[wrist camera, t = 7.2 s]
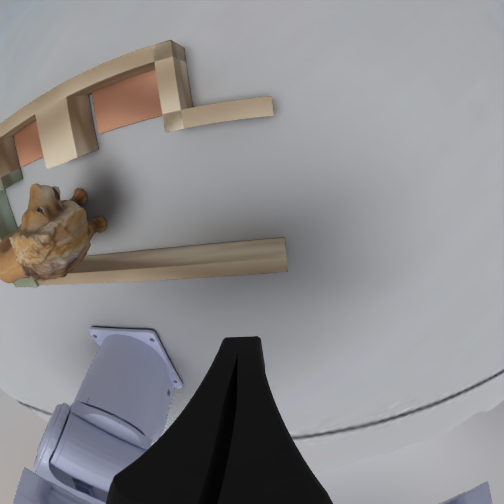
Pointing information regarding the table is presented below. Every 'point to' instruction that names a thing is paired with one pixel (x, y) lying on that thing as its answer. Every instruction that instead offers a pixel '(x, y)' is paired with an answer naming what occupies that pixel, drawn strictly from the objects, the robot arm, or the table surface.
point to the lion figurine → (48, 237)
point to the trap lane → (114, 116)
